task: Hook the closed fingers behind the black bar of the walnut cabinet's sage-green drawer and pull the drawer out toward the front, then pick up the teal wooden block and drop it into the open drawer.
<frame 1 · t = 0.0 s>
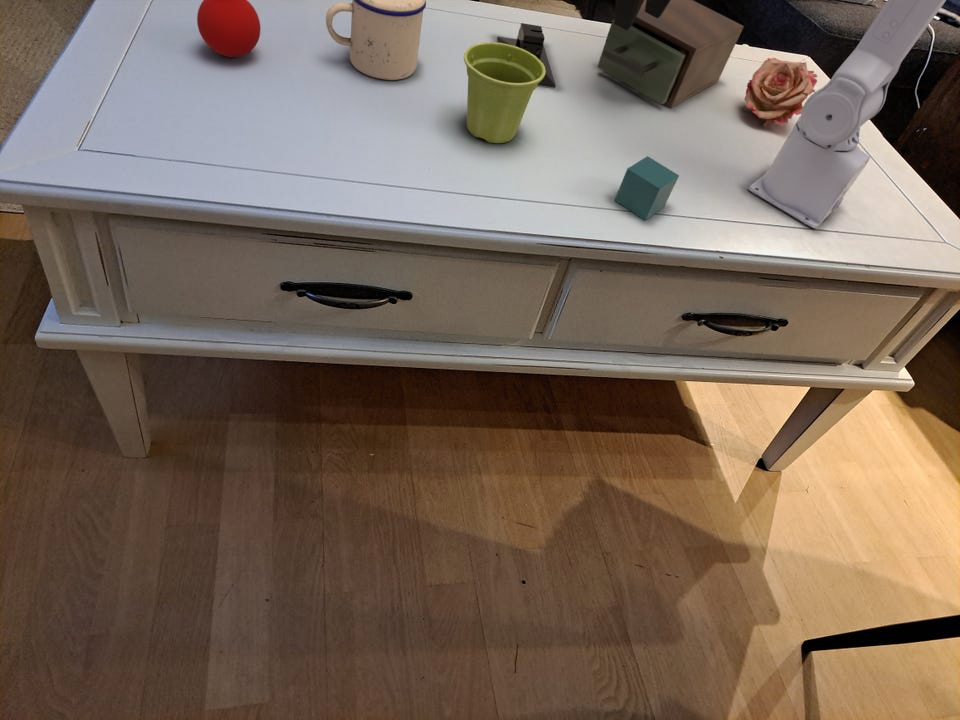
hand: (637, 20, 89), 10 cm above the table, tool pointing down, fingers open, 7 cm apart
cabinet: (660, 75, 103), on the table
drawer: (653, 55, 97), point 4 cm above the table, slide at 1.0 cm
flower: (763, 120, 101), on the table
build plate: (524, 63, 98), on the table
block: (639, 203, 80), on the table
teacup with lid: (372, 65, 89), on the table
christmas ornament: (231, 55, 85), on the table
plant pot: (489, 131, 84), on the table
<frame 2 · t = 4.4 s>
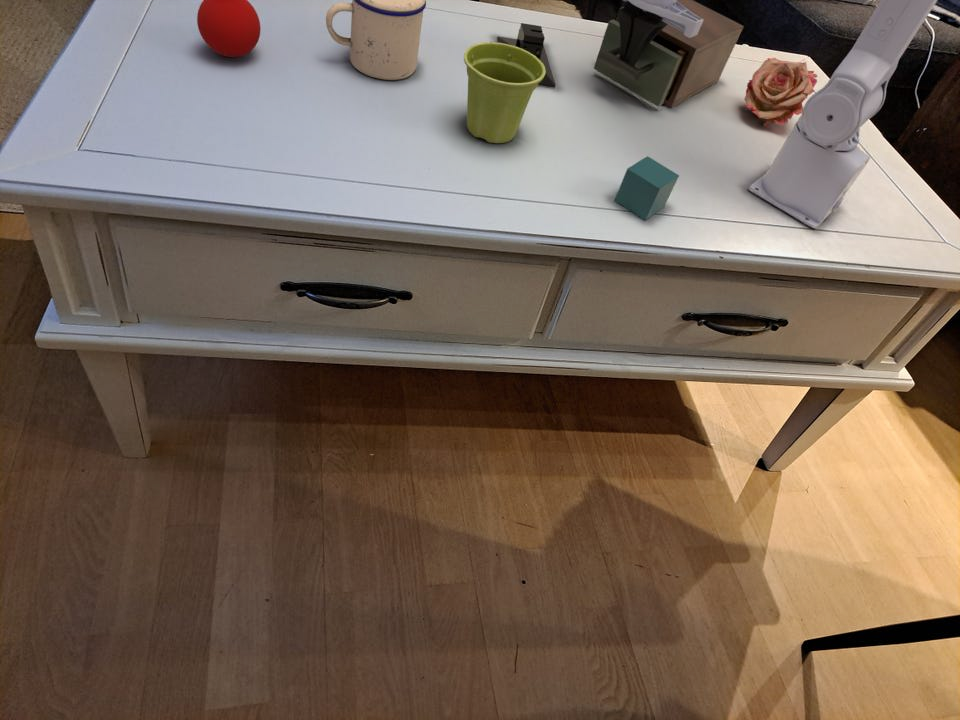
hand: (626, 66, 93), 4 cm above the table, tool pointing down, fingers closed, pressing on drawer
drawer: (650, 56, 97), point 4 cm above the table, slide at 2.0 cm, touching gripper
everything else where it was.
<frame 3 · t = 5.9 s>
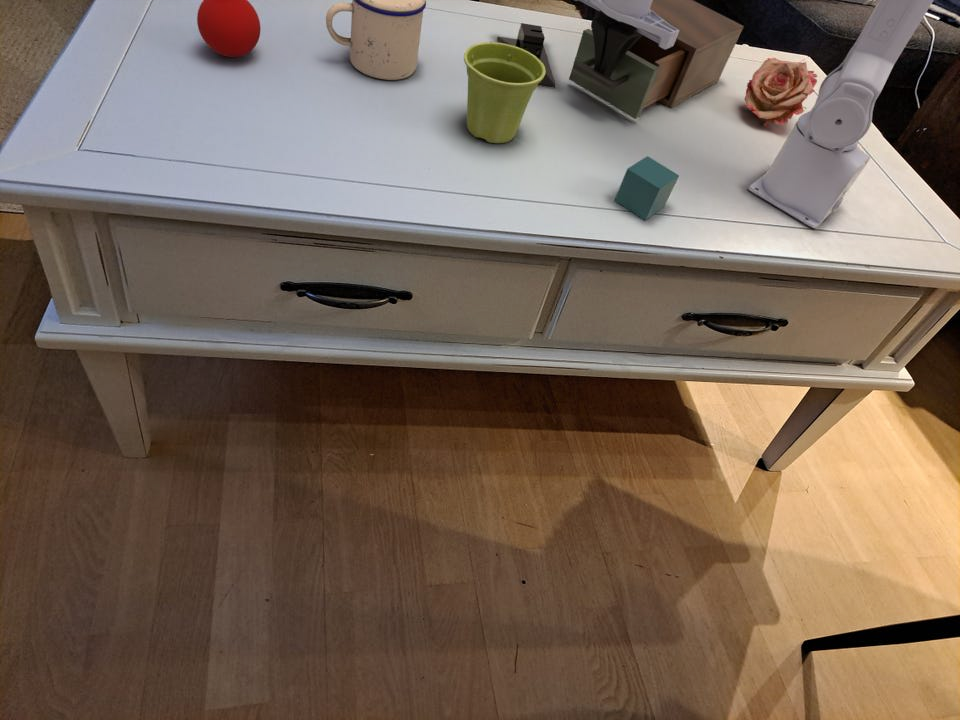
hand: (601, 78, 89), 4 cm above the table, tool pointing down, fingers closed, pressing on drawer
drawer: (627, 67, 93), point 4 cm above the table, slide at 8.0 cm, touching gripper
everything else where it was.
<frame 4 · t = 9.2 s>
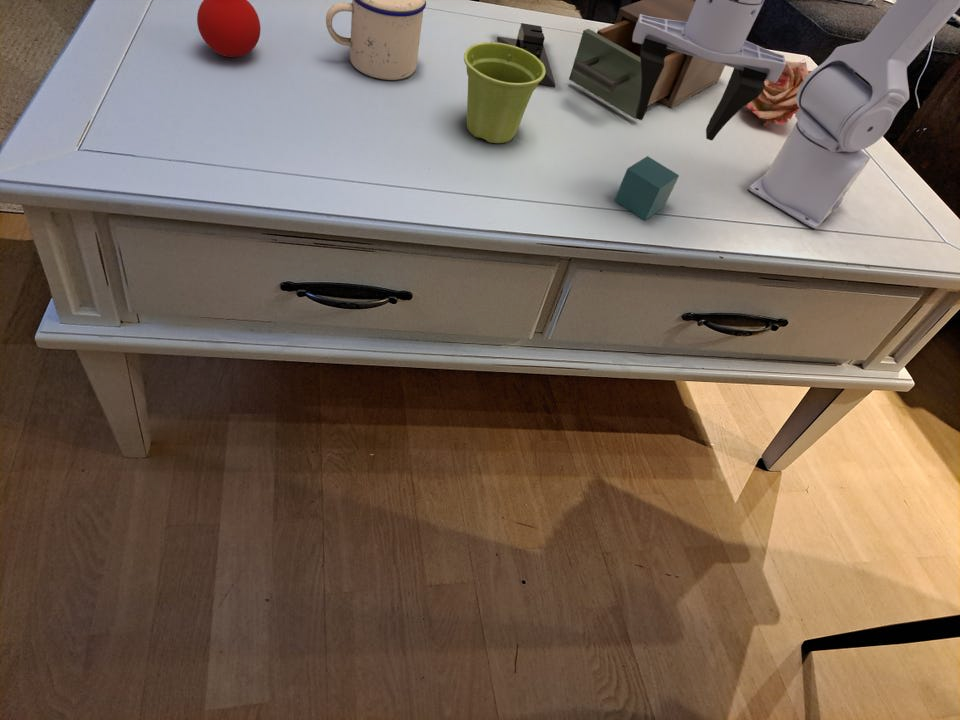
hand: (674, 125, 72), 10 cm above the table, tool pointing down, fingers open, 7 cm apart
drawer: (627, 67, 93), point 4 cm above the table, slide at 8.0 cm
everything else where it was.
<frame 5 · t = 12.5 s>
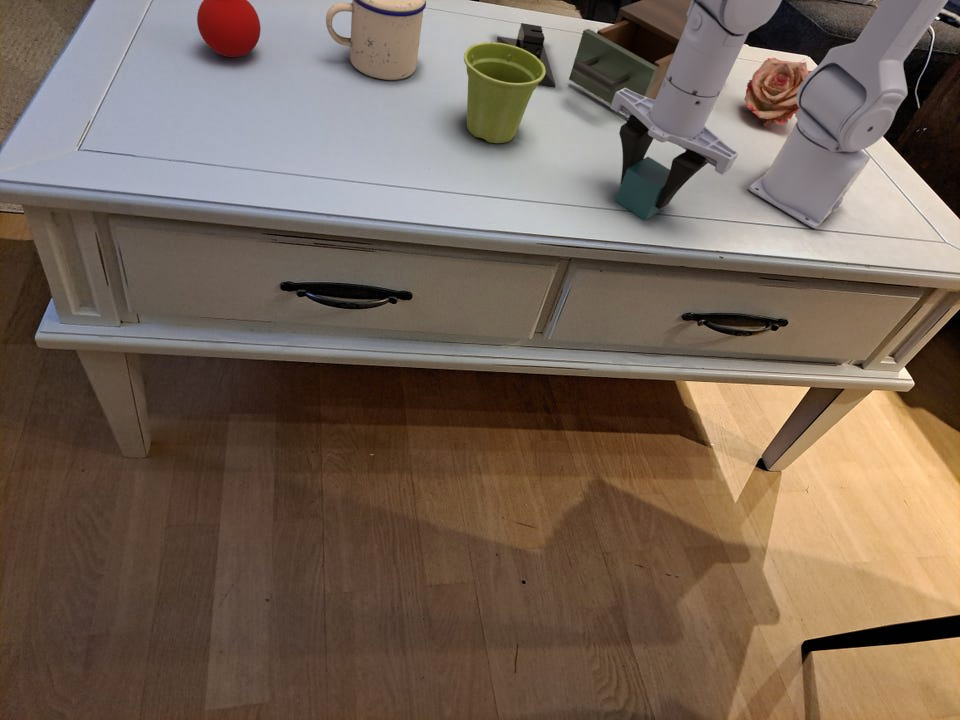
hand: (643, 193, 79), 1 cm above the table, tool pointing down, fingers closed on block, 4 cm apart
block: (639, 203, 80), on the table, touching gripper
everything else where it was.
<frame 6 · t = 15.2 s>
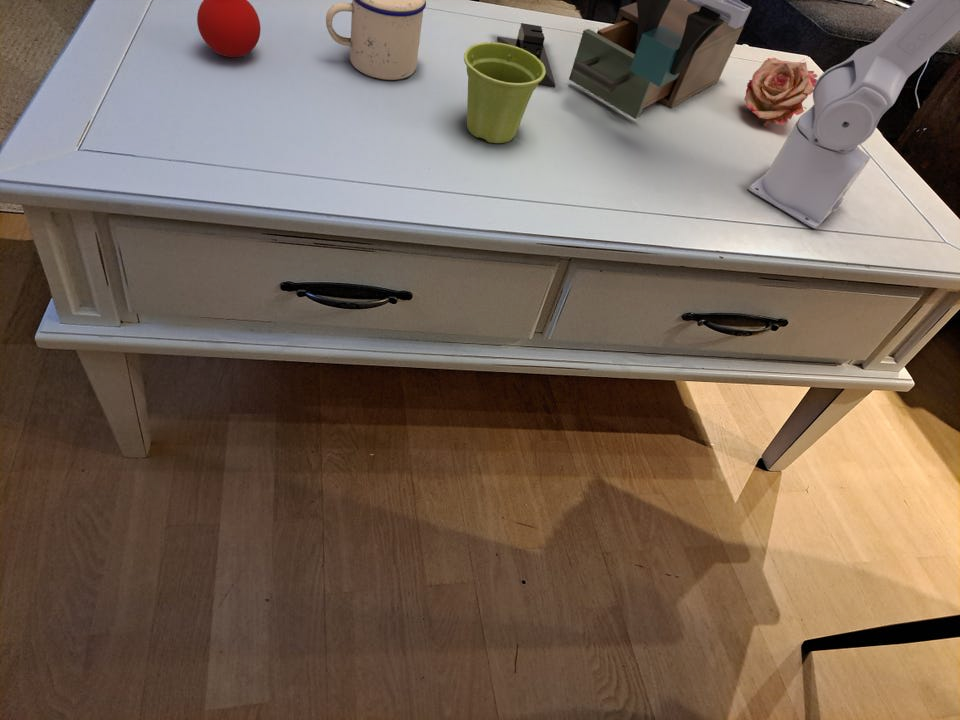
hand: (658, 62, 81), 10 cm above the table, tool pointing down, fingers closed on block, 4 cm apart
block: (653, 74, 82), point 9 cm above the table, touching gripper
everything else where it was.
when the fingers open (6 cm above the table, at t = 18.2 s): block drops 3 cm, resting on drawer.
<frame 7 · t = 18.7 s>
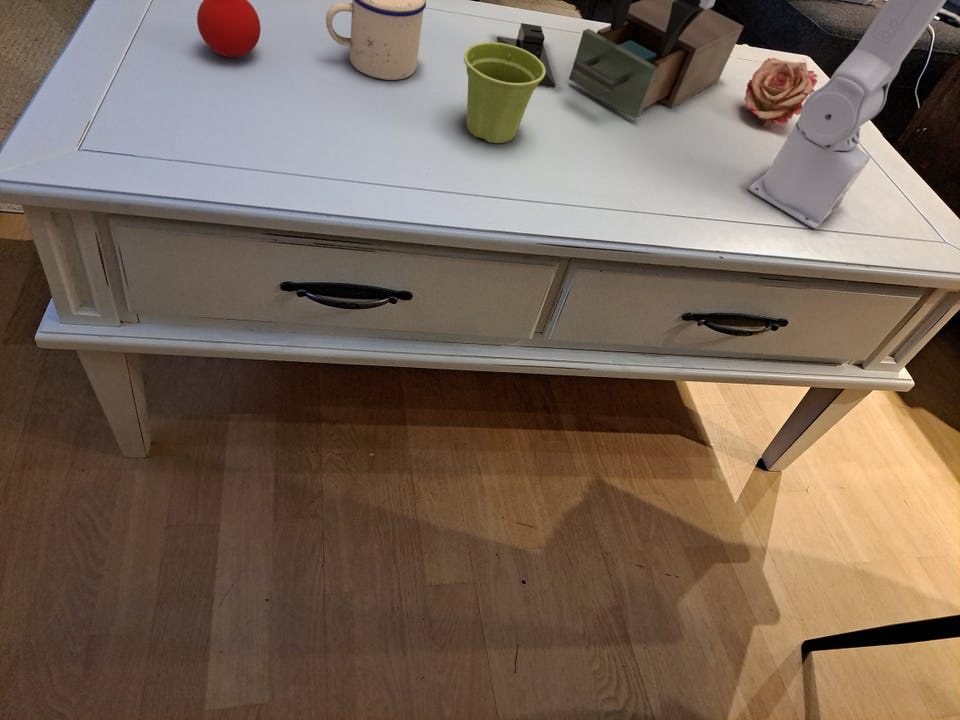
hand: (639, 41, 91), 8 cm above the table, tool pointing down, fingers open, 7 cm apart
drawer: (627, 67, 93), point 4 cm above the table, slide at 8.0 cm, touching block
block: (624, 81, 95), point 2 cm above the table, touching drawer
everything else where it was.
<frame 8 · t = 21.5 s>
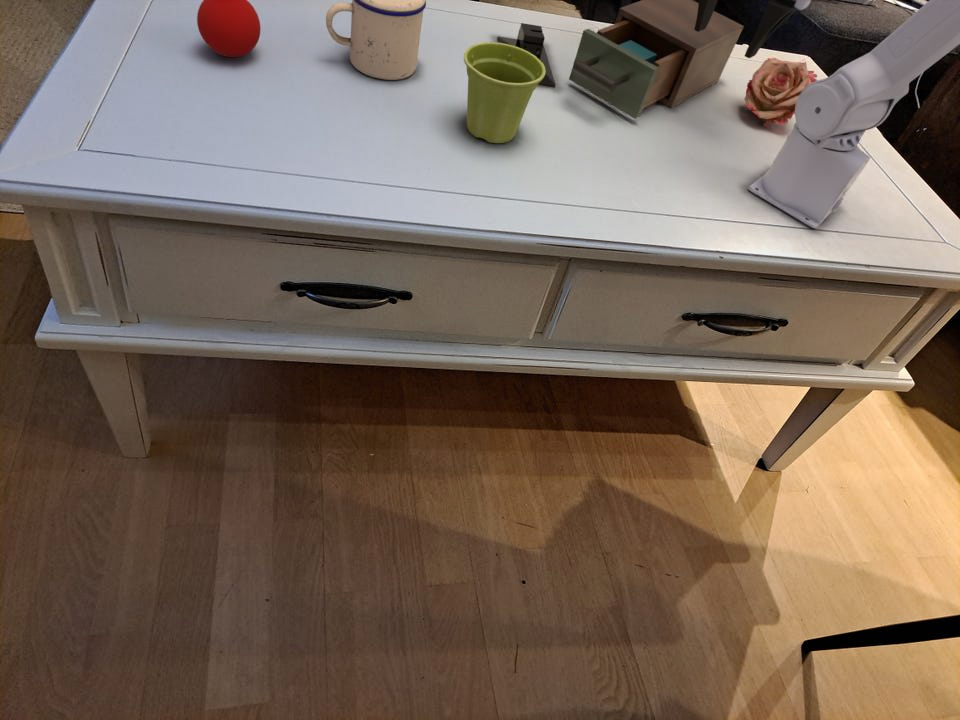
hand: (724, 42, 89), 10 cm above the table, tool pointing down, fingers open, 7 cm apart
nothing on the table moved.
at the end: drawer slide at 8.0 cm; block inside the target area in the drawer (2.5 cm from its centre), point 2.0 cm above the cabinet's base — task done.
